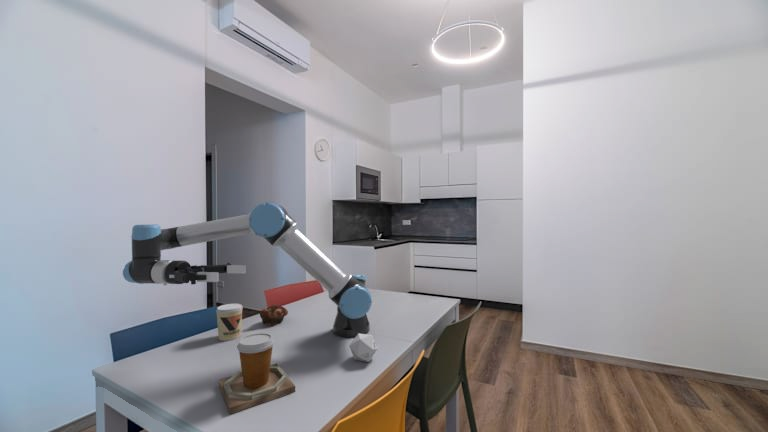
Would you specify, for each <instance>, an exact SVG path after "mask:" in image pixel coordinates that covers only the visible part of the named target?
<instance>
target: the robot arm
mask: <svg viewBox="0 0 768 432" xmlns="http://www.w3.org/2000/svg"><path fill="white" fill-rule="evenodd" d="M250 234H254V235H256V236H259V237H260V238H261V237H262V238H263V239H264V240H266V241H267V242H268V243H269V244H270V245H271V246H272V247H280V248H281V249H282V250H283V251H284V252H285V253H286V254H288V256H289V257H291V258H292V259H293V261H295V263H297V264H298V265H299V266H300V267H302V269H304V271H306V272H307V273H308V274H309V275H310V276H311V277H312V278H313V279H314V280H316V281H317V282H318V283H319V284H320V285H321V286H322V287H323V288H324V289H325V290H326V291H328V298H329V299H330V300H331V301H332V302H333V303H334V304H335V305H336V307H337V309H336V310H337V312H336V316H335V318H334V322H333V325H332V331H333V332H332V333H333V334H334V335H336V336H339V337H345V338H346V337H347V338H351V337H352V338H355V337H356V336H357V334H358V333H360V334H367V333H369V332H370V330H371V329H370V327H371V326H370V325H371V324H370V321H369V318H368V315H367V313H369V311H370V309H371V307H372V303H373V301H372V300H373V299H372V294H371V292H370V291H369V290H368V288H367V287H366V276H365V275H364V274H352V273H345V272H343V271H342V269H340V268H339V266H337V264H335V263H334V262H333V261H332V260H331V259H330V258H329V257H328V256H327V255H326V254H325V253H324V252H322V250H321V249H319V248H318V247H317V246H316V245H315V244H314V243H313V242H312V241H311V240H310V239H309V238H307V236H306V235H304V234H303V233H302V231H300V230H299V229H298V222H297V221H296V220H295V219H293V218H292V216H291V215H289V213H288V211H287V210H286V209H285V207H284V206H281V205H279V204H277V203H274V202H270V201H267V202H262V203H260V204H257V205H256V206H254V207H253V208H252V210H251V211H250V212H249V213H248V214H242V215H238V216H232V217H231V216H230V217H226V218H220V219H215V220H209V221H203V222H197V223H191V224H186V225H182V226H174V227H171V228H170V227H169V228H163V229H161V226H160V225H159V224H157V223H156V224H152V223H151V224H134V225H133V226H132V228H131V236H130V237H131V261H128V262H127V263H126V264H125V265H124V267H123V270H122V277H123V278H124V280H125V281H127V282H129V283H132V284H133V283H134V284H140V285H141V284H142V285H144V284H163V286H167V284H171V285H182V284H183V285H184V284H188V283H190V284H191V285H196V284H197V282H198V283H199V282H201V283H204V282H205V283H219V282H220V281H219V280H220V277H219V274H224V273H225V274H237V275H238V274H240V275H241V274H243V275H244V274H246V273H247V265H243V264H231V263H230V262H227V264H210V265H197V264H195V265H191V264H190V263H189V262H188V261H186V260H165V259H163V260H162V259H161V257H162V253H161V252H162V251H164V250H171V249H177V248H180V247H187V246H190V245H191V246H192V245H197V244H202V243H207V242H212V241H217V240H219V241H220V240H223V239H229V238H235V237H238V236H245V235H250Z"/></svg>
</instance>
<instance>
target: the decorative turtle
mask: <svg viewBox="0 0 768 432" xmlns="http://www.w3.org/2000/svg"><path fill="white" fill-rule="evenodd" d="M259 311H260V312H259V317H260V319H261V322H262V324H263V325H267V324H270V326H275V325H276V323H279V324H281V323H283V321H284V319H285V317H287V315H288V314H289V311H288V309H287V308H285V306H284V307H283V306H281V305H270V306H268V307H267V308H262V309H261V310H259Z"/></svg>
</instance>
